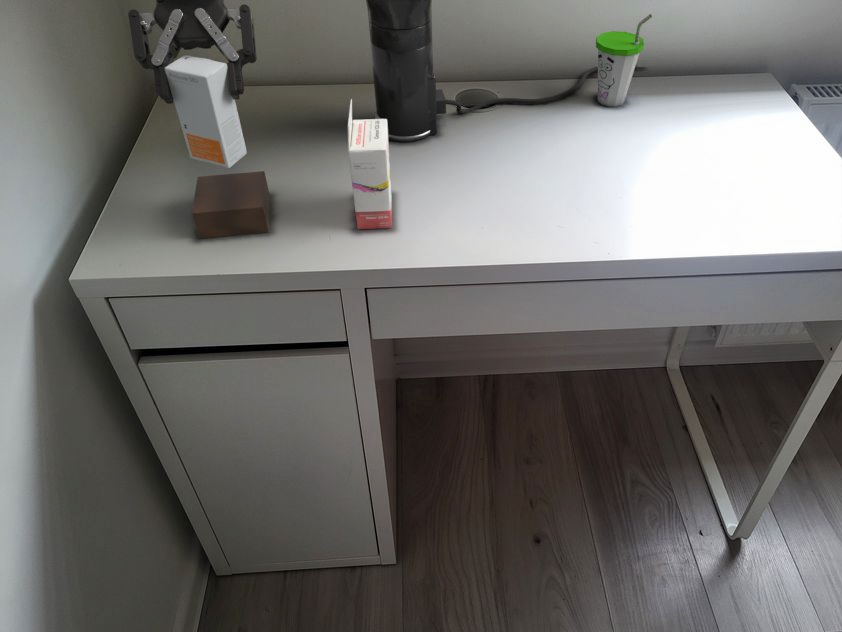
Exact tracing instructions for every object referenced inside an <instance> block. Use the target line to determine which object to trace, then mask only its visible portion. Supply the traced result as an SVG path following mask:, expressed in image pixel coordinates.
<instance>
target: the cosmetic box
mask: <svg viewBox="0 0 842 632" xmlns="http://www.w3.org/2000/svg"><path fill="white" fill-rule="evenodd" d="M165 72H166V76H167V79H168V83H169V86H170V90H171V93H172V96H173V104H174V106H175V111H176V114H177V117H178V121H179V124H180V127H181V130H182V134H183V137H184V141H185V145H186V148H187V151H188V155H189V158H190V159H191V160H197V161H201V162H205V163H208V164H212V165H216V166H219V167H222V168H225V169H231V167H232V166H234V165H235V164H236V163H237V162H239V161H240V160H241V159H242V158H244V157H245V156H246V155H247V153H248V151H247V147H246V143H245V138H244V134H243V129H242V125H241V121H240V115H239V113H238V108H237V103H236V100H233V98H232V96H231V93H230V85H229V77H228V69H227V62H220V61H218V60H217V61H216V60H212V59H210V58H207V57H206V58H205V57H199V56H198V57H197V56H193V55H187V54H184V55H182V56H181V57H180V58H178V59H176V60H175V61H174V60H173V61H172V63H171V64H170V65H168V66H167V67H165Z"/></svg>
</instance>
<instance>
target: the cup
mask: <svg viewBox="0 0 842 632" xmlns="http://www.w3.org/2000/svg"><path fill="white" fill-rule="evenodd" d="M652 18H653V16H652V14H651V13H649V14H648V15H647V16H646V17H644V18H643V19H641V20H640V21H639V22H638V24H637V27H636V32H635V33H631V32H627V31H617V30H612V31H607V32H602V33H600V34H598V35H597V36H596V39H595V48H596V49H597V66H598V71H597V103H599V104H600V105H602V106H605V107H610V108H611V107H612V108H615V107H616V108H617V107H621V106H622V105H624V103H625V101H626V97H627V94H628V91H629V87H630V85H631V82H632V79H633V75H634V72H635V66H636V65H637V62H638V60H639V56H640V53H641V52H642V51H644V47H645V42H644V41H645V40H644V38H642V37H641V36H640V34H641V29H642V25H643V24H645V23H647V22H648V21H649V20H650V19H652Z"/></svg>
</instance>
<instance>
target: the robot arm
mask: <svg viewBox="0 0 842 632" xmlns="http://www.w3.org/2000/svg"><path fill="white" fill-rule="evenodd" d="M155 2H156V3H155V7H154V10H153V12H139V11H138V10H137V9H131V10H129V11H128V14H127V15H128V21H129V29H130V34H131V35H130V36H131V41H132V48H133V55H134V58H135V60H136V61H137V62H138V63H139V65H140V66H141V67H142V68H143V69H145V70H152V71H153V76H154V83H155V84H154V85H155V92H156V93H157V95H158V96H159V97H160V99H161V100H163V101H164V103H165V104H167V105H171V104H174V100H173V96H172V93H171V90H170V86H169V83H168V79H167V76H166V72H165V67H167V66H168V65H170V64H171V63H173V62H174V60H175V59H177V57H178V55H179V54H180V52H181V49H183V50H184V51H188V50H189V51H190V50H194V49H197V48H198V49H204V50H206V49H207V50H208V49H212V47H213V46H215V47H216V49H217V50H218V51H219V52H220V54H221V55H222V56H223V57H224V58H225V59H226V60H227V62H226V64H227V69H228V77H229V85H230V93H231V96H232V98H233V100H235V101H236V100H240V99H241V98H240V95H244V92H245V85H244V77H243V76H244V75H243V67H244V66H245V65H247V64H254V63H255V62H256V61H257V60H258V59H257V57H258V56H257V48H256V47H257V46H256V36H255V24H254V16H253V14H252V11H251V9H250V6H249V5H247V4H241V5H240V6H239V8H227V6H226V5H225V2H224V0H155ZM365 3H366V8H367V19H368V30H369V40H370V52H371V64H372V77H373V87H374V88H373V89H374V99H375V108H376V109H375V112H374V119H387V124H388V140H392V141H398V142H414V141H418V140H422V139H426V138H427V137H429V136H432V135H437V134H438V117H437V115H443V114H444V115H445V114H447V105H450V106H454V107H456V112H457V114H461V115H464V114H468V113H471V112H474V111H476V110H480V109H483V108H485V107H489V106H491V105H496V104H497V105H498V104H505V103H506V104H527V105H533V104H534V105H536V104H545V103H549V102H554V101H557V100H560V99H563V98H564V97H567V96H568V95H571V94H572V93H574V92H576V91H577V90H579V89H580V88H581V87H582V86H583V85H584V82H585V80H586V79H587V77H588V76H589V75H591V74H593V73H596V72H598V67H597V66H595V67H592V68H590V69H588V70H586V71H585V72H584V73H583V74H582V75H581V77H580V79H579V81H578V82H577V84H575V85H573V86H572V87H571V88H569V89H567V90H564V91H563V92H561V93H559V94H555V95H552V96H547V97H541V98H519V97H500V98H493V99H489V100H486V101H483V102H480V103H479V104H476V105H474V106H472V107H470V108H465V109H463V108H462V104H461V103H460V102H459V100H458V101H457V100H454V99H448V98H446V97H445V94H444V90H443V89H442V88H441V89H440V88H439V89H437V80H436V79H437V77H436V74H435V70H434V52H433V51H434V49H433V48H434V47H433V46H434V45H433V44H434V43H433V9H432V8H433V0H365ZM230 21H232V22H234V24H235V26H236V28H237V30H240V33H241V43H242V48H240V49H237V50H236V49H235V48H234V47H233V46H232V44H231V43H230V42H229V40H228V39H227V37H226V36H225V35H224V34H223V33H224V32H225V30H226V28H227V27H228V25H229V23H230ZM154 25H157V26H158V27H159V28H160V29H161V30H162V33H161V34H160V36H159V39H158V42H157V47H156V49H155V50H154V53H153V54H151V49H150V44H149V43H150V42H149V37H148V35H150V34H151V33H152V32H153V27H154ZM639 69H640V68H639V67H638V65H637V64H636V66H635V69H634V71H636V70H637V71H638V70H639Z"/></svg>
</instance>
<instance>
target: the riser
mask: <svg viewBox="0 0 842 632" xmlns="http://www.w3.org/2000/svg"><path fill="white" fill-rule="evenodd" d="M270 198H271V194H270V190H269V186H268V181H267V175H266V171H264V170H261V171H260V170H259V171H250V172H237V173H236V172H235V173H226V174H225V173H224V174H214V175H212V174H211V175H202V176H197V178H196V185H195V189H194V196H193V201H192V208H191V217H192V221H193V222H194V225H195V226H194V227H195V230H196V232H197V236H198V238H199V239H210V238H211V239H212V238H220V237H233V236H243V235H252V234H253V235H254V234H263V233H269V232H270V231H269V230H270V205H271V204H270V203H271V199H270Z"/></svg>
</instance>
